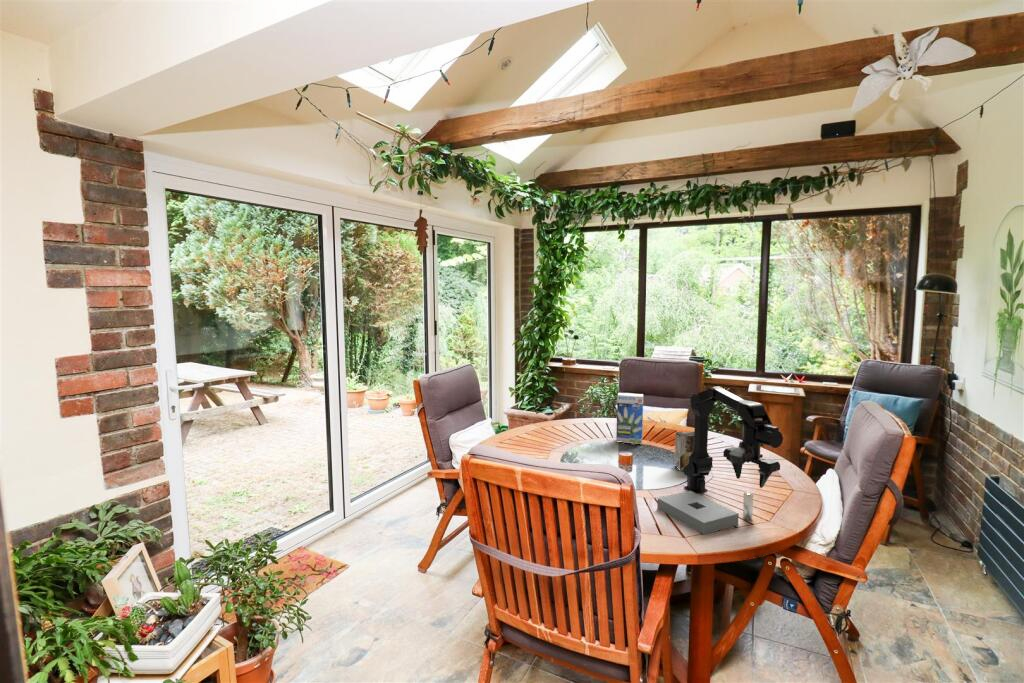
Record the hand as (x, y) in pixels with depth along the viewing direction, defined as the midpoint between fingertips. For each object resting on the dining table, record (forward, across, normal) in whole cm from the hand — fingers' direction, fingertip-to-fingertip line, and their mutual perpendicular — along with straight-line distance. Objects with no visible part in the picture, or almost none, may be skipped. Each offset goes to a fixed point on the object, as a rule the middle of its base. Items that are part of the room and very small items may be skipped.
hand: (749, 482), depth 175 cm
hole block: (+13, -9, -15) cm, 22 cm away
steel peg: (+13, 0, 0) cm, 13 cm away
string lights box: (+14, -90, +21) cm, 93 cm away
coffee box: (+13, -47, +19) cm, 52 cm away
